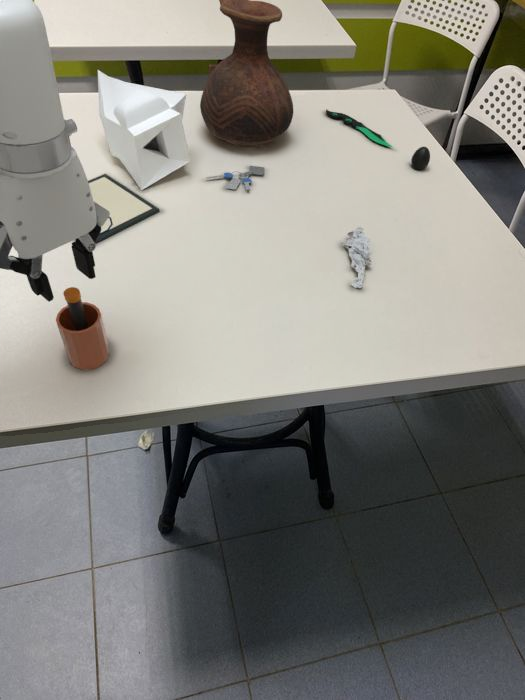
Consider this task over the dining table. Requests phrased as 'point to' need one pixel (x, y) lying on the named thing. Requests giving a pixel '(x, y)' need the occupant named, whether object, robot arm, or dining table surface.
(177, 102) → the folded paper
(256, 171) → the key chain
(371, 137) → the knife
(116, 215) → the drawing mat
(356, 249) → the paper
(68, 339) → the pen cup
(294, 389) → the dining table surface
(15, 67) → the robot arm
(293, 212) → the dining table surface
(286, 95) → the jug
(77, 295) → the marker
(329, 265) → the dining table surface
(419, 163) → the egg
